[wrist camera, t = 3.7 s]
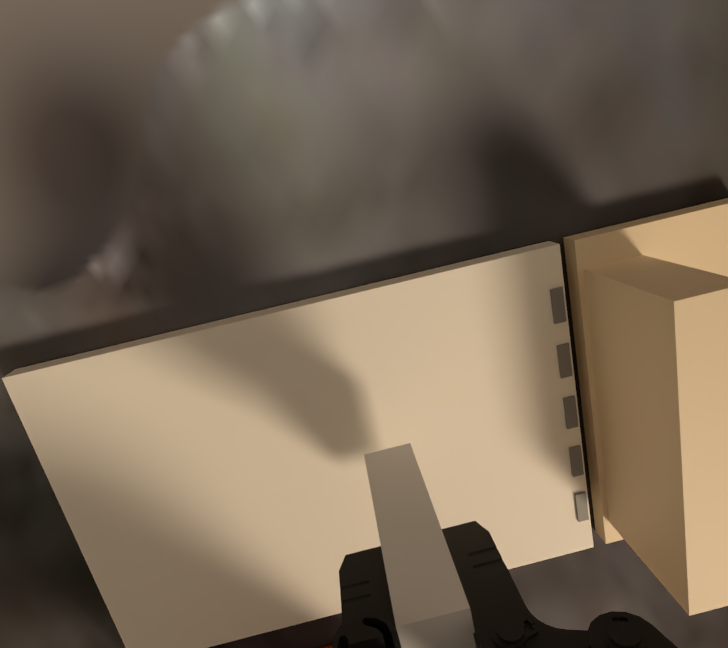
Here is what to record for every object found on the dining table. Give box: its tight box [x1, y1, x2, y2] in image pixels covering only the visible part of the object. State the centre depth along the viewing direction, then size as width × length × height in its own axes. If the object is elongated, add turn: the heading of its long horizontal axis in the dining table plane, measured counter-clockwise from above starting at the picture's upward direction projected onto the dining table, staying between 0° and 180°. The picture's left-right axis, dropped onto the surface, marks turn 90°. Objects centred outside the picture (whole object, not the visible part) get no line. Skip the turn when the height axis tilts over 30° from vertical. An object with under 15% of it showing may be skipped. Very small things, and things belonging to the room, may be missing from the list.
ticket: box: [2, 241, 593, 648], centre depth 19 cm, size 18×12×1 cm, turn 102°
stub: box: [563, 198, 728, 616], centre depth 17 cm, size 6×12×5 cm, turn 12°
